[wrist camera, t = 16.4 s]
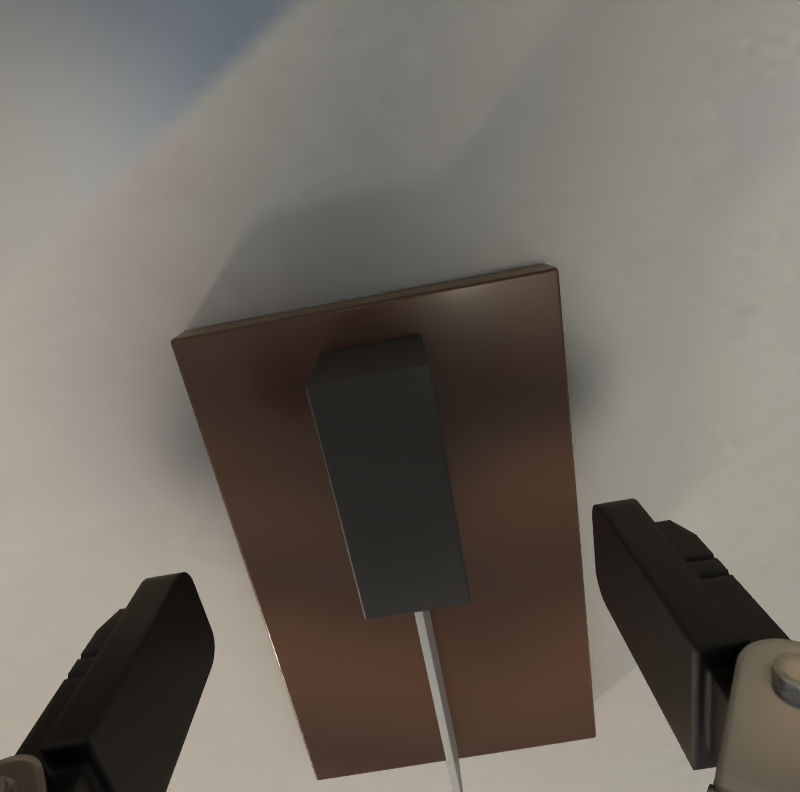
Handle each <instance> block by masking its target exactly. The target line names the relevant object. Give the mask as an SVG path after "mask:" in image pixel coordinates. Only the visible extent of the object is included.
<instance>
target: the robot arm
mask: <svg viewBox="0 0 800 792" xmlns="http://www.w3.org/2000/svg"><path fill="white" fill-rule="evenodd" d="M592 520H593V535H594V551H595V566H596V575H597V580H598V585H599V588H600V592H601V595H602V597H603V600H604V602H605V604H606V606H607V608H608V610H609V612H610V614H611V616H612V618H613V619H614V621H615V623H616V625H617V627H618V629H619V631H620V633H621V635H622V636H623V638H624V640H625V642H626V644H627V646H628V648H629V650H630V651H631V653H632V655H633V657H634V659H635V661H636V663H637V665H638V667H639V668H640V670H641V672H642V674H643V676H644V678H645V680H646V682H647V684H648V685H649V687H650V689H651V691H652V693H653V695H654V697H655V699H656V701H657V702H658V704H659V706H660V708H661V710H662V712H663V714H664V716H665V717H666V719H667V721H668V723H669V725H670V727H671V729H672V731H673V733H674V734H675V736H676V738H677V740H678V742H679V744H680V746H681V748H682V750H683V751H684V753H685V755H686V757H687V759H688V761H689V763H690V765H691V766H692V768H693V770H698V769H705V768H712V767H717V769H716V774H715V779H714V783H713V785H712V784H710V785H709V787H708V790H707V792H800V642H798V641H793V640H790V639H789V638H788V636H787V635H786V634H785V633H784V632H783V631H782V630H781V629H780V628H779V626H778V625H777V624H776V623H775V622H774V621H773V620H772V619H771V618H770V616H769V615H768V614H767V613H766V612H765V611H764V610H763V609H762V608H761V606H760V605H759V604H758V603H757V602H756V601H755V600H754V599H753V598H752V596H751V595H750V594H749V593H748V592H747V591H746V590H745V589H744V588H743V586H742V585H741V584H740V583H739V582H738V581H737V580H736V579H735V578H734V576H733V575H729V573H728V570H727V569H726V568H725V566H724V565H723V564H722V563H721V562H720V561H719V560H718V559H717V558H714V555H713V553H712V552H711V551H710V550H709V549H708V548H707V546H706V545H705V544H704V543H703V542H702V541H701V540H700V539H699V538H698V536H697V535H696V534H694V533H692V532H690V531H688V530H687V529H685V528H683V527H681V526H680V525H678V524H676V523H674V522H672V521H671V520H667V521H661V522H654V521H653V520H652V518H651V517H650V516H649V515H648V513H647V512H646V511H645V510H644V508H643V507H642V506H641V505H640V504H639V502H638V501H637V500H635V499H627V500H621V501H615V502H609V503H603V504H597V505H594V506H593V509H592ZM214 651H215V645H214V636H213V632H212V629H211V626H210V624H209V621H208V619H207V616H206V613H205V611H204V608H203V606H202V603H201V600H200V598H199V595H198V593H197V590H196V587H195V585H194V582H193V580H192V578H191V576H190V575H189V574H188V573H186V572H182V573H176V574H170V575H164V576H158V577H152V578H147V579H145V580H144V581H143V582H142V583H141V585H140V586H139V588H138V589H137V591H136V593H135V594H134V596H133V597H132V599H131V601H130V602H129V604H128V605H127V607H126V608H125V609H120V610H119V611H118V612H117V613H115V614H114V615H113V616H112V617H111V618H110V619H109V620H108V621H107V622H106V623H105V624H104V625H102V626H101V627H100V628H99V629H98V630H97V631H96V633H95V634H94V636H93V637H92V639H91V640H90V642H89V643H88V645H87V646H86V648H85V649H84V651H83V652H82V654H81V659H78V660H77V661H76V663H75V664H74V666H73V667H72V669H71V671H70V672H69V674H68V679H66V680H64V681H63V683H62V684H61V686H60V687H59V689H58V690H57V692H56V693H55V695H54V696H53V698H52V699H51V701H50V702H49V704H48V705H47V707H46V709H45V710H44V712H43V713H42V715H41V716H40V718H39V719H38V721H37V722H36V724H35V725H34V727H33V728H32V730H31V731H30V733H29V734H28V736H27V737H26V739H25V740H24V742H23V744H22V745H21V747H20V748H19V750H18V751H17V753H16V754H15V756H11V757H8V758H5V759H2V760H0V792H166V790H167V787H168V785H169V782H170V779H171V777H172V774H173V771H174V768H175V766H176V763H177V760H178V757H179V755H180V752H181V749H182V747H183V744H184V741H185V738H186V736H187V733H188V730H189V727H190V725H191V722H192V719H193V717H194V714H195V711H196V708H197V706H198V703H199V700H200V697H201V695H202V692H203V689H204V686H205V684H206V681H207V678H208V676H209V673H210V670H211V667H212V664H213V660H214Z"/></svg>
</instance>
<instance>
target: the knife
mask: <svg viewBox="0 0 800 792" xmlns="http://www.w3.org/2000/svg"><path fill="white" fill-rule="evenodd" d="M305 390H306V394H307V398H308V402H309V406H310V410H311V413H312V417H313V421H314V425H315V429H316V433H317V437H318V441H319V445H320V448H321V452H322V456H323V460H324V464H325V468H326V472H327V476H328V480H329V483H330V487H331V491H332V495H333V499H334V503H335V507H336V511H337V515H338V518H339V522H340V526H341V530H342V534H343V538H344V542H345V546H346V550H347V553H348V557H349V561H350V565H351V569H352V573H353V577H354V581H355V585H356V589H357V592H358V596H359V600H360V604H361V608H362V612H363V616H364V618H365V620H373V619H379V618H385V617H391V616H397V615H403V614H409V613H414V614H415V618H416V623H417V628H418V632H419V637H420V641H421V646H422V651H423V655H424V660H425V664H426V669H427V674H428V678H429V683H430V688H431V692H432V697H433V701H434V706H435V711H436V715H437V720H438V724H439V729H440V734H441V738H442V743H443V747H444V752H445V757H446V761H447V766H448V771H449V775H450V780H451V784H452V789H453V792H463V789H462V781H461V774H460V766H459V758H458V751H457V743H456V738H455V734H454V729H453V724H452V719H451V714H450V709H449V704H448V699H447V695H446V690H445V685H444V680H443V675H442V670H441V665H440V660H439V655H438V651H437V646H436V641H435V636H434V631H433V626H432V621H431V616H430V612H429V610H434V609H440V608H446V607H452V606H458V605H464V604H469V603H470V602H471V597H470V591H469V585H468V579H467V573H466V567H465V561H464V556H463V550H462V544H461V538H460V532H459V526H458V521H457V515H456V509H455V503H454V497H453V491H452V485H451V480H450V474H449V468H448V462H447V456H446V450H445V444H444V439H443V433H442V427H441V421H440V415H439V409H438V404H437V398H436V392H435V386H434V380H433V374H432V368H431V364H430V360H429V357H428V353H427V349H426V346H425V342H424V338H423V336H422V335H414V336H409V337H403V338H398V339H393V340H387V341H382V342H376V343H371V344H366V345H360V346H355V347H349V348H344V349H339V350H333V351H328V352H322V353H320V354H319V356H318V358H317V360H316V363H315V365H314V368H313V370H312V372H311V375H310V377H309V379H308V382H307V384H306V387H305Z"/></svg>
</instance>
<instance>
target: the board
mask: <svg viewBox="0 0 800 792" xmlns="http://www.w3.org/2000/svg"><path fill="white" fill-rule="evenodd" d="M414 335H422V336H423V338H424V342H425V346H426V349H427V353H428V357H429V360H430V364H431V368H432V374H433V380H434V386H435V392H436V398H437V404H438V409H439V415H440V421H441V427H442V433H443V439H444V444H445V450H446V456H447V462H448V468H449V474H450V480H451V485H452V491H453V497H454V503H455V509H456V515H457V521H458V526H459V532H460V538H461V544H462V550H463V556H464V561H465V567H466V573H467V579H468V585H469V591H470V597H471V602H470V603H469V604H464V605H458V606H452V607H446V608H440V609H434V610H429V612H430V616H431V621H432V626H433V631H434V636H435V641H436V646H437V651H438V655H439V660H440V665H441V670H442V675H443V680H444V685H445V690H446V695H447V699H448V704H449V709H450V714H451V719H452V724H453V729H454V734H455V738H456V743H457V751H458V758H465V757H472V756H478V755H485V754H491V753H498V752H504V751H511V750H517V749H524V748H530V747H537V746H543V745H550V744H556V743H563V742H569V741H576V740H582V739H589V738H594V737H596V729H595V717H594V705H593V692H592V680H591V667H590V655H589V643H588V630H587V618H586V606H585V593H584V581H583V569H582V556H581V544H580V532H579V519H578V507H577V494H576V482H575V470H574V457H573V445H572V433H571V420H570V408H569V396H568V383H567V371H566V358H565V346H564V334H563V321H562V309H561V297H560V284H559V272H558V269H557V268H555V267H553V266H550V265H548V264H540V265H535V266H529V267H524V268H519V269H513V270H508V271H503V272H497V273H492V274H487V275H481V276H476V277H471V278H465V279H460V280H454V281H449V282H444V283H438V284H433V285H428V286H422V287H417V288H412V289H406V290H401V291H396V292H390V293H385V294H379V295H374V296H369V297H363V298H358V299H353V300H347V301H342V302H337V303H331V304H326V305H321V306H315V307H310V308H305V309H299V310H294V311H288V312H283V313H278V314H272V315H267V316H262V317H256V318H251V319H246V320H240V321H235V322H230V323H224V324H219V325H213V326H208V327H203V328H197V329H192V330H187V331H184V332H183V333H181V334H180V335H178V336H177V337H175V338H174V339H172V340H171V345H172V348H173V351H174V354H175V357H176V360H177V363H178V366H179V369H180V372H181V375H182V378H183V381H184V384H185V387H186V390H187V393H188V396H189V399H190V402H191V405H192V408H193V411H194V414H195V417H196V420H197V423H198V426H199V429H200V432H201V435H202V438H203V441H204V444H205V446H206V449H207V452H208V455H209V458H210V461H211V464H212V467H213V470H214V473H215V476H216V479H217V482H218V485H219V488H220V491H221V494H222V497H223V500H224V503H225V506H226V509H227V512H228V515H229V518H230V521H231V524H232V527H233V530H234V533H235V536H236V539H237V542H238V545H239V548H240V551H241V554H242V557H243V560H244V563H245V566H246V569H247V572H248V575H249V578H250V581H251V584H252V587H253V590H254V593H255V596H256V599H257V602H258V605H259V608H260V611H261V614H262V617H263V620H264V623H265V626H266V629H267V632H268V635H269V638H270V641H271V644H272V647H273V650H274V653H275V656H276V659H277V662H278V665H279V668H280V671H281V674H282V677H283V680H284V683H285V686H286V689H287V692H288V695H289V698H290V701H291V704H292V707H293V710H294V713H295V716H296V719H297V722H298V725H299V728H300V731H301V734H302V737H303V740H304V743H305V746H306V749H307V752H308V755H309V758H310V761H311V764H312V767H313V770H314V773H315V776H316V779H317V780H323V779H329V778H336V777H342V776H349V775H355V774H362V773H368V772H375V771H381V770H388V769H394V768H401V767H407V766H414V765H420V764H427V763H433V762H440V761H446V757H445V752H444V747H443V743H442V738H441V734H440V729H439V724H438V720H437V715H436V711H435V706H434V701H433V697H432V692H431V688H430V683H429V678H428V674H427V669H426V664H425V660H424V655H423V651H422V646H421V641H420V637H419V632H418V628H417V623H416V618H415V614H414V613H409V614H403V615H397V616H391V617H385V618H379V619H373V620H365V618H364V616H363V612H362V608H361V604H360V600H359V596H358V592H357V589H356V585H355V581H354V577H353V573H352V569H351V565H350V561H349V557H348V553H347V550H346V546H345V542H344V538H343V534H342V530H341V526H340V522H339V518H338V515H337V511H336V507H335V503H334V499H333V495H332V491H331V487H330V483H329V480H328V476H327V472H326V468H325V464H324V460H323V456H322V452H321V448H320V445H319V441H318V437H317V433H316V429H315V425H314V421H313V417H312V413H311V410H310V406H309V402H308V398H307V394H306V390H305V387H306V384H307V382H308V379H309V377H310V375H311V372H312V370H313V368H314V365H315V363H316V360H317V358H318V356H319V354H320V353H322V352H328V351H333V350H339V349H344V348H349V347H355V346H360V345H366V344H371V343H376V342H382V341H387V340H393V339H398V338H403V337H409V336H414Z"/></svg>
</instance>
